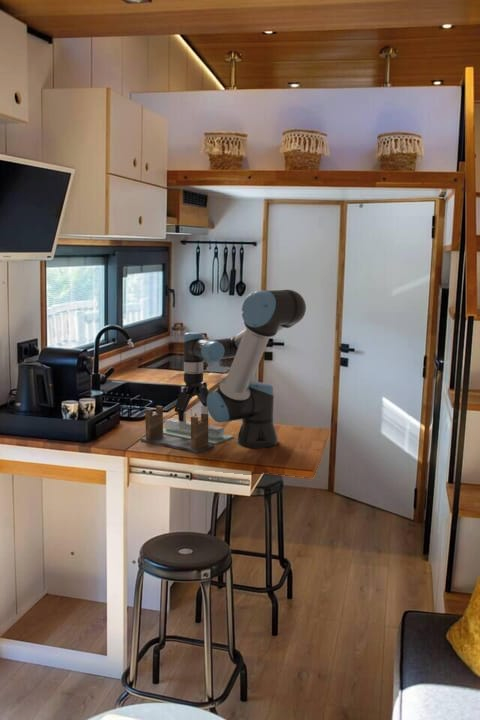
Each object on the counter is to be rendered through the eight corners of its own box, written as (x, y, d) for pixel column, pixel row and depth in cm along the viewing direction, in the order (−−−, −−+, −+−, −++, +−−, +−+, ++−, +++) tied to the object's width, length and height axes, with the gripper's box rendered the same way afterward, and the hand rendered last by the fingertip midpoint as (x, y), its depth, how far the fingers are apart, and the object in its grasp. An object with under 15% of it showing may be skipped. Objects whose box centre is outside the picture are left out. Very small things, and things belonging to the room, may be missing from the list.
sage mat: (233, 437, 269) (233, 436, 269) (215, 444, 259) (215, 443, 259) (174, 426, 286) (174, 425, 286) (154, 432, 276) (154, 431, 276)
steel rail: (223, 437, 267) (223, 427, 266) (217, 439, 263) (217, 429, 263) (171, 427, 281) (171, 418, 281) (165, 429, 278) (165, 420, 277)
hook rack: (213, 447, 255) (213, 414, 253) (198, 453, 248) (198, 419, 246) (156, 435, 271) (156, 404, 269) (140, 440, 264) (140, 408, 262)
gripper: (205, 366, 281) (205, 418, 284) (164, 375, 261) (165, 430, 264) (220, 368, 276) (220, 420, 280) (180, 377, 256) (180, 433, 260)
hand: (193, 425), depth 272 cm, fingers open, 13 cm apart
